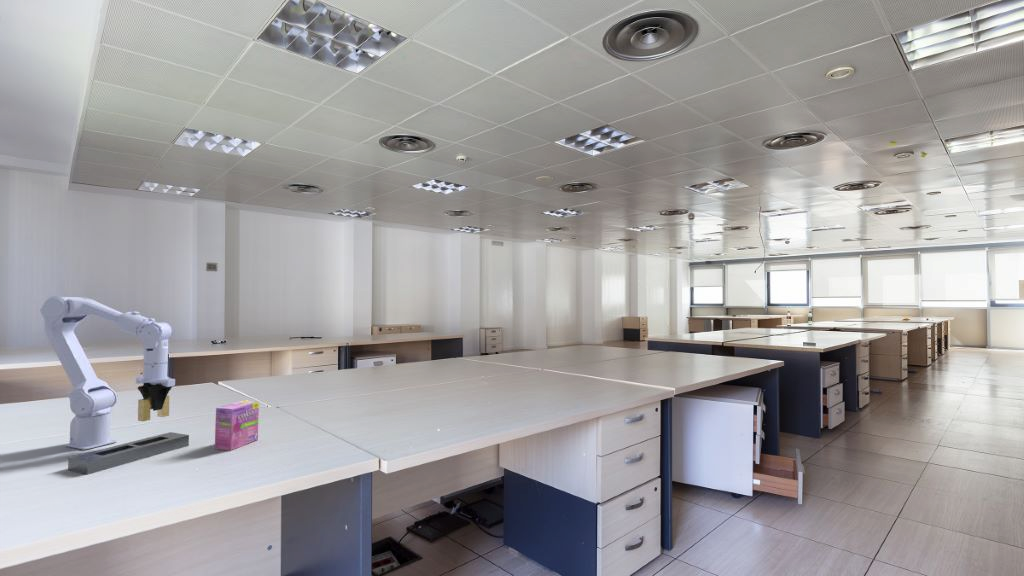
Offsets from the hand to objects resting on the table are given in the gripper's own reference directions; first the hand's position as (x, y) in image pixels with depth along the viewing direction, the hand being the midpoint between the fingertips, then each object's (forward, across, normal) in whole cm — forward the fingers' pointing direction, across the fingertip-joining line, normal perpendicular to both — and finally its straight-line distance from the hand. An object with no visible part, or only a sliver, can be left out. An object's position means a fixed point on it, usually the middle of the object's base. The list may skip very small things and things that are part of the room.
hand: (154, 409), depth 135 cm
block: (+10, +8, -10) cm, 16 cm away
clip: (+2, 0, 0) cm, 3 cm away
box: (+10, +24, +8) cm, 27 cm away
